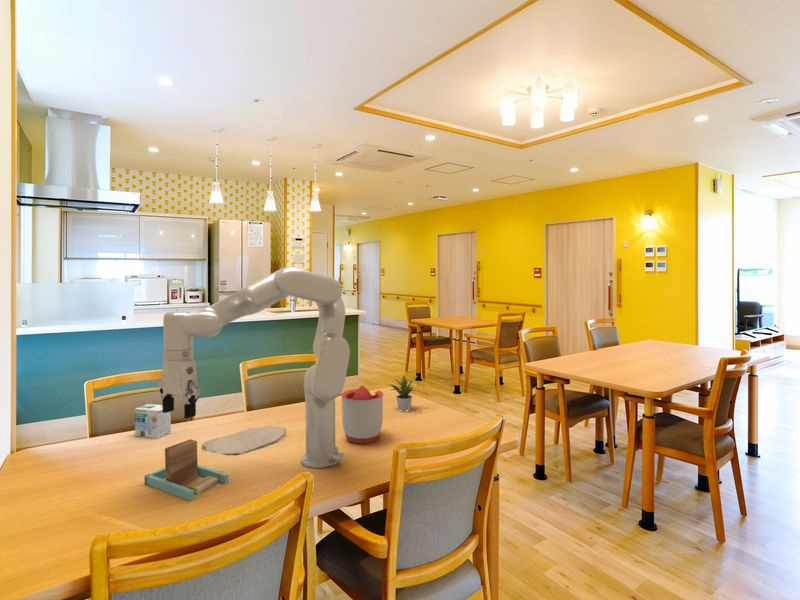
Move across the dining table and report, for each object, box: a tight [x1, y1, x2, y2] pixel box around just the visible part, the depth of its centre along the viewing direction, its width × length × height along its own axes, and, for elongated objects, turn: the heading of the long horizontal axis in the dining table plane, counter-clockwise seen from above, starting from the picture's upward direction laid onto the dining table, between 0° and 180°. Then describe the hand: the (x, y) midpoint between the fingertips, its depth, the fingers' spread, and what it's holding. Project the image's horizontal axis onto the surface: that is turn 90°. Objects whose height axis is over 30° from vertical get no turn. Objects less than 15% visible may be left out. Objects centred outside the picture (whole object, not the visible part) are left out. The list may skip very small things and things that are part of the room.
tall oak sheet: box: [164, 439, 199, 486], centre depth 127 cm, size 3×8×12 cm, turn 151°
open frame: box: [144, 464, 229, 502], centre depth 127 cm, size 20×12×4 cm, turn 61°
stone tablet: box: [201, 425, 287, 456], centre depth 161 cm, size 16×30×2 cm, turn 137°
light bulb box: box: [134, 403, 172, 439], centre depth 168 cm, size 11×7×11 cm, turn 76°
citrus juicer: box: [340, 385, 384, 445], centre depth 165 cm, size 16×17×20 cm
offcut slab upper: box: [187, 476, 219, 496], centre depth 123 cm, size 4×7×2 cm, turn 155°
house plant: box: [387, 374, 419, 411], centre depth 201 cm, size 14×14×16 cm
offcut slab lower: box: [194, 483, 221, 498], centre depth 123 cm, size 4×8×2 cm, turn 152°
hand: (179, 414), depth 127 cm, fingers open, 9 cm apart
